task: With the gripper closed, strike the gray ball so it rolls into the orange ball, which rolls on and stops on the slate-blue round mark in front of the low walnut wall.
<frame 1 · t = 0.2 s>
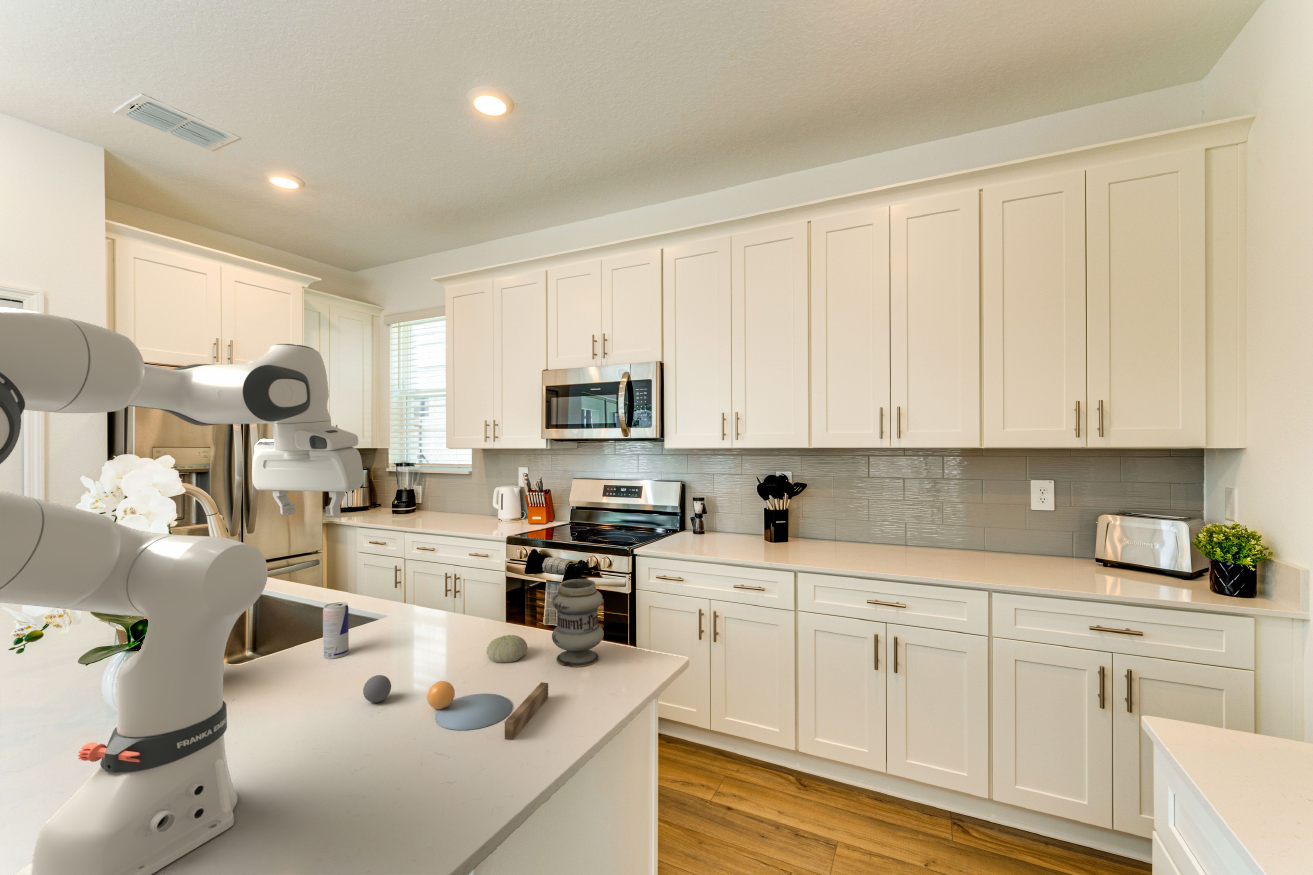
hand: (310, 514, 101), 39 cm above the countertop, tool pointing down, fingers open, 8 cm apart
plant pot: (166, 695, 115), on the countertop
gray ball: (377, 688, 112), on the countertop
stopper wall: (528, 716, 105), on the countertop
energy drink: (335, 655, 136), on the countertop
sea urchin shell: (507, 658, 134), on the countertop
object ball: (441, 694, 109), on the countertop
apothecary jar: (577, 659, 133), on the countertop
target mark: (474, 711, 108), on the countertop
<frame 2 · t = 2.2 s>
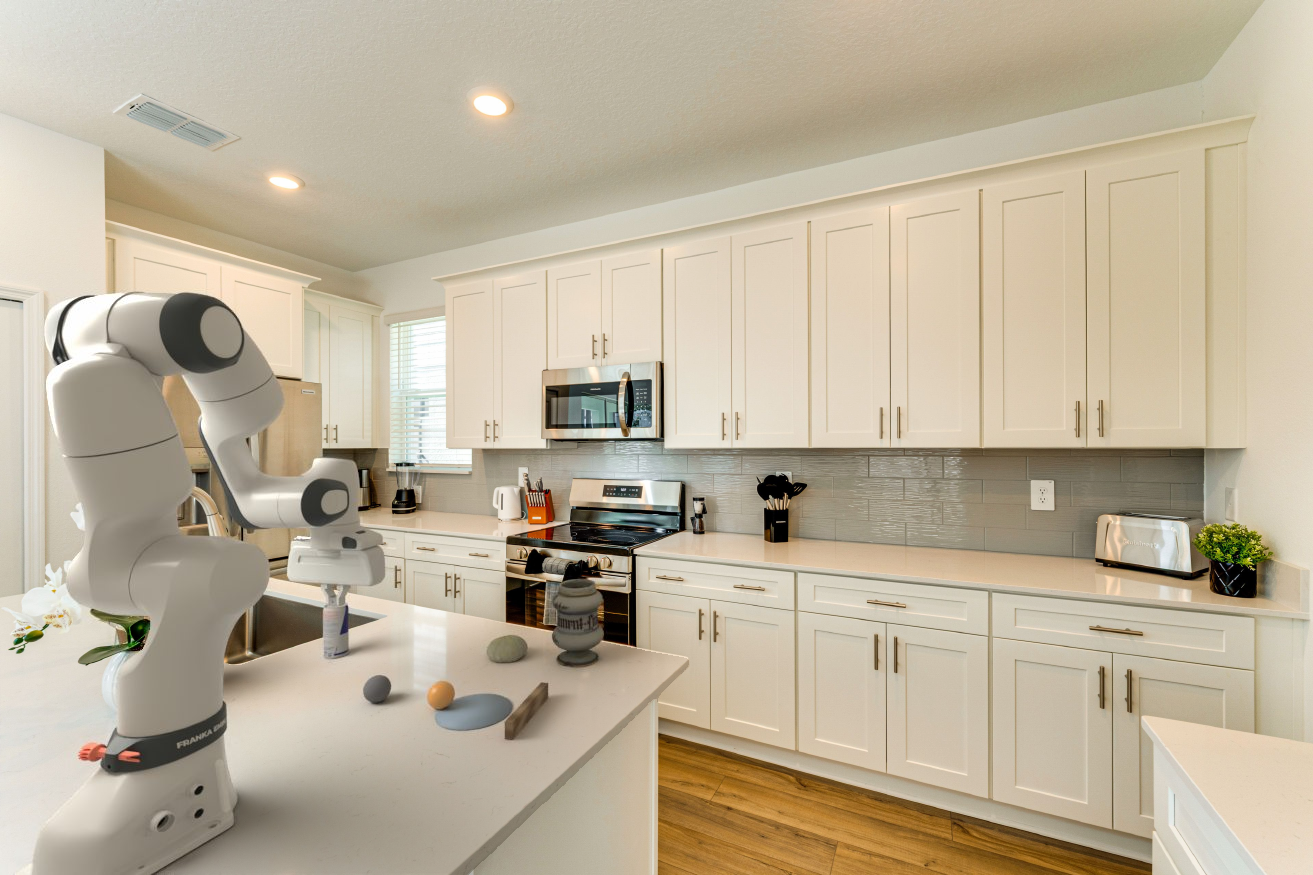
hand: (335, 605, 114), 18 cm above the countertop, tool pointing down, fingers closed
nothing on the countertop moved.
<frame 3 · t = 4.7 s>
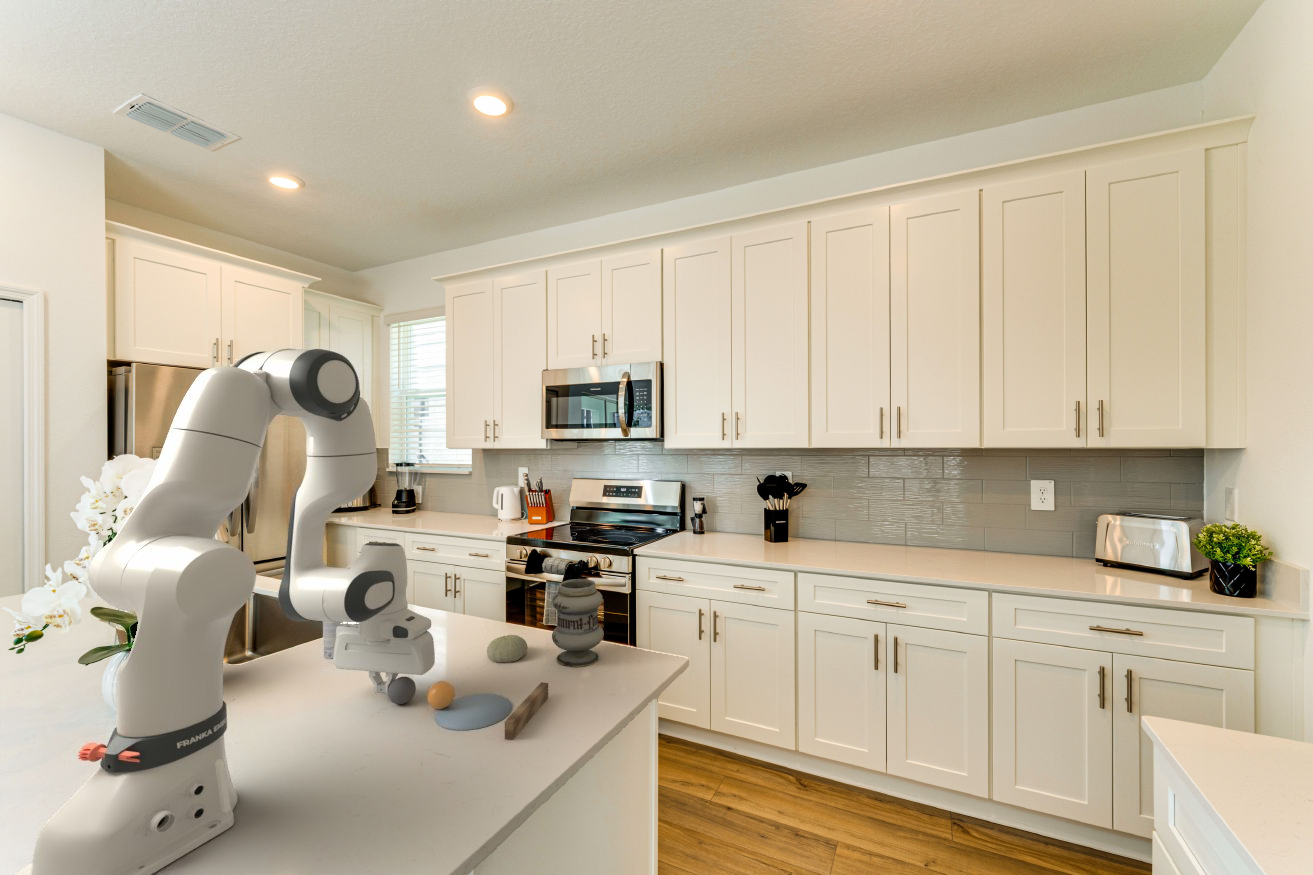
hand: (383, 692, 112), 2 cm above the countertop, tool pointing down, fingers closed
gray ball: (402, 690, 111), on the countertop
everything else where it was.
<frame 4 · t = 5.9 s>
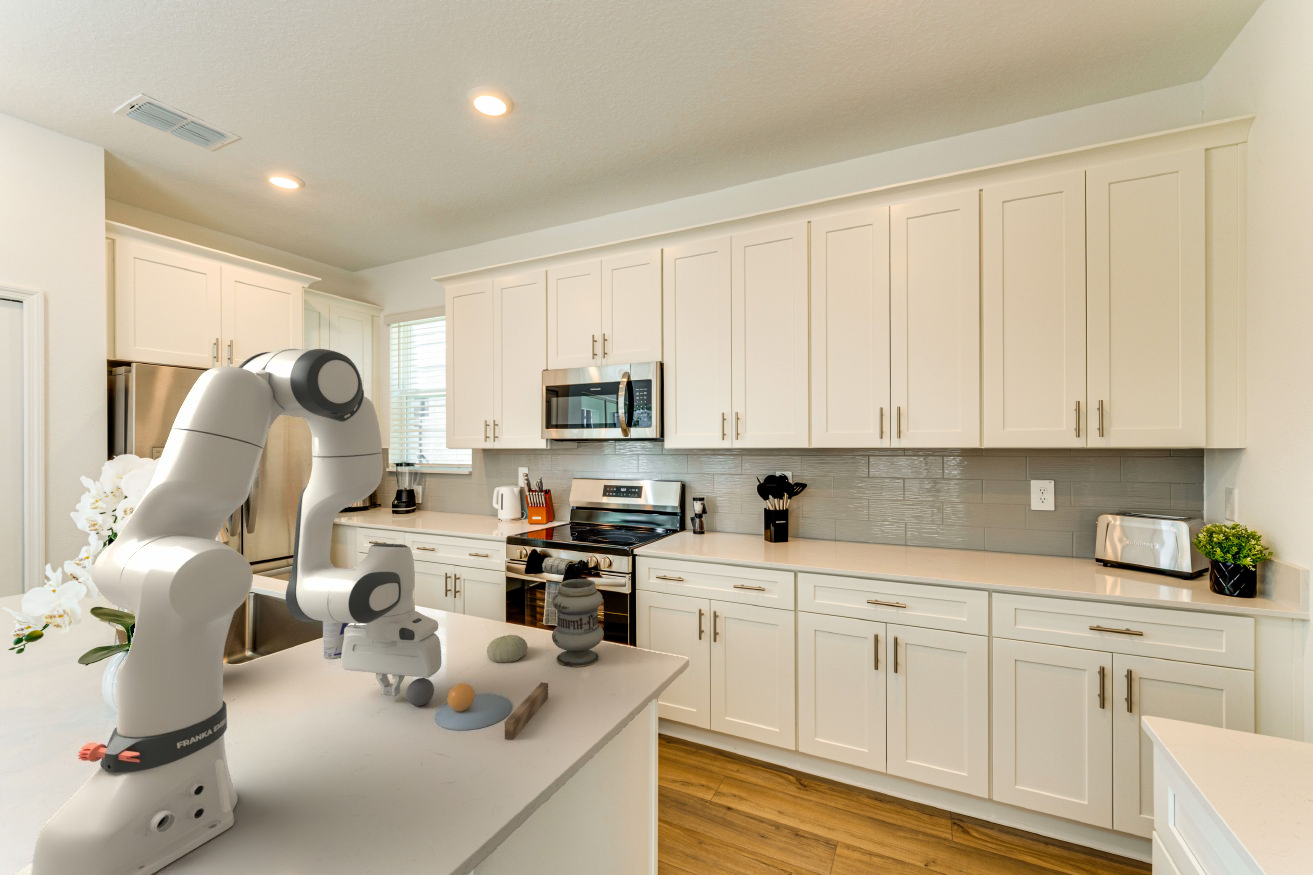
hand: (390, 694, 111), 2 cm above the countertop, tool pointing down, fingers closed
gray ball: (420, 691, 110), on the countertop
object ball: (461, 697, 108), on the countertop
everything else where it was.
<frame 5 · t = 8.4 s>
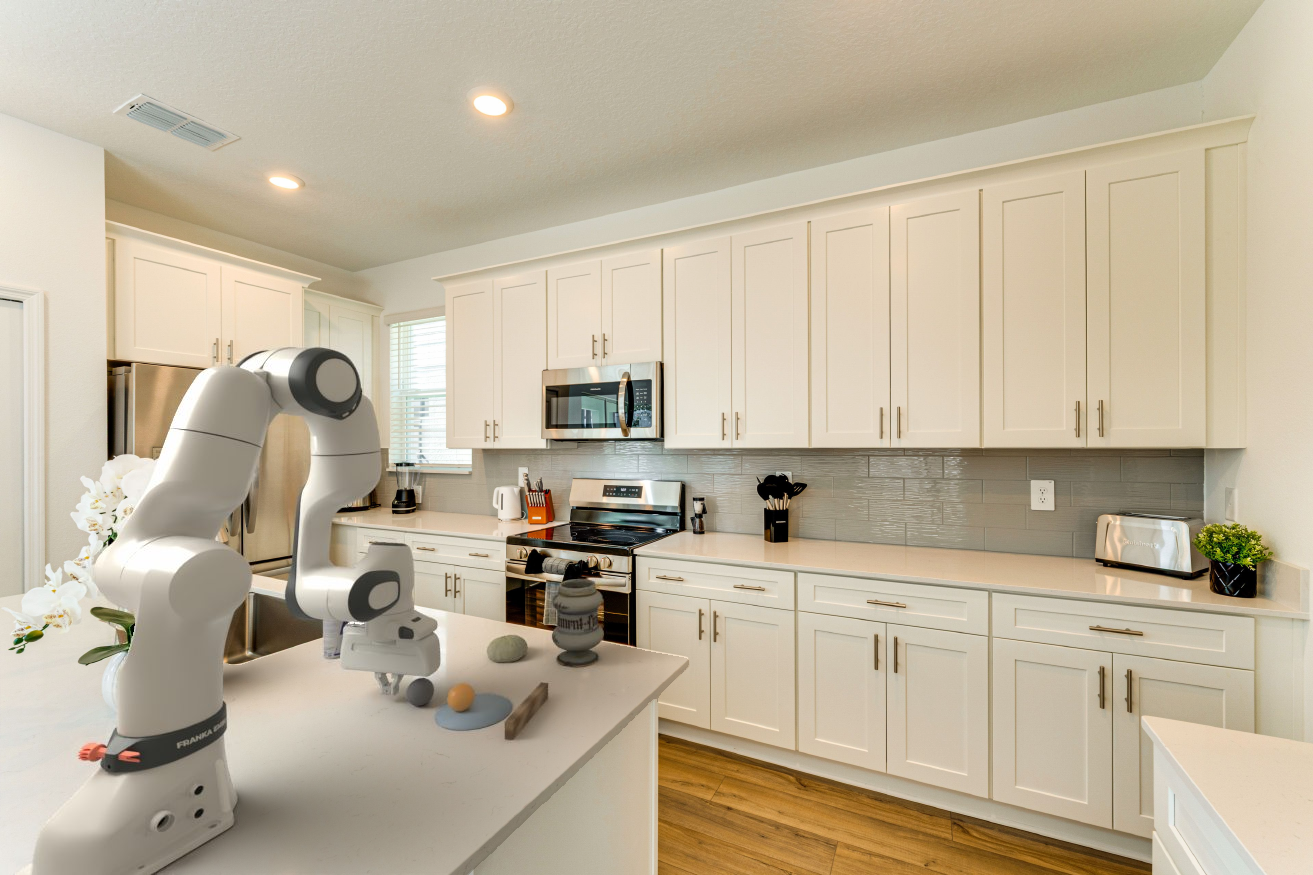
hand: (389, 693, 111), 2 cm above the countertop, tool pointing down, fingers closed
nothing on the countertop moved.
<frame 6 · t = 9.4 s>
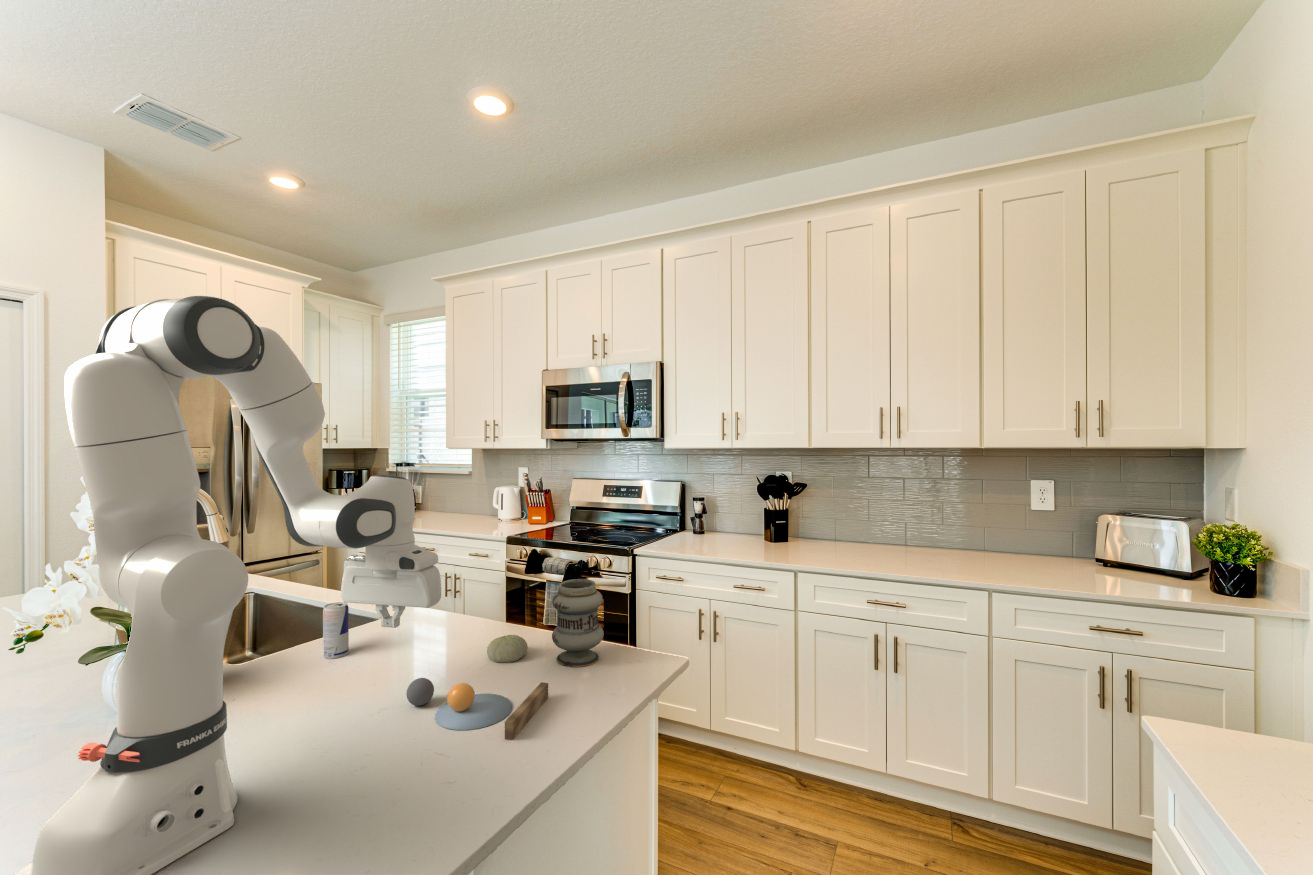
hand: (390, 626, 111), 15 cm above the countertop, tool pointing down, fingers closed
nothing on the countertop moved.
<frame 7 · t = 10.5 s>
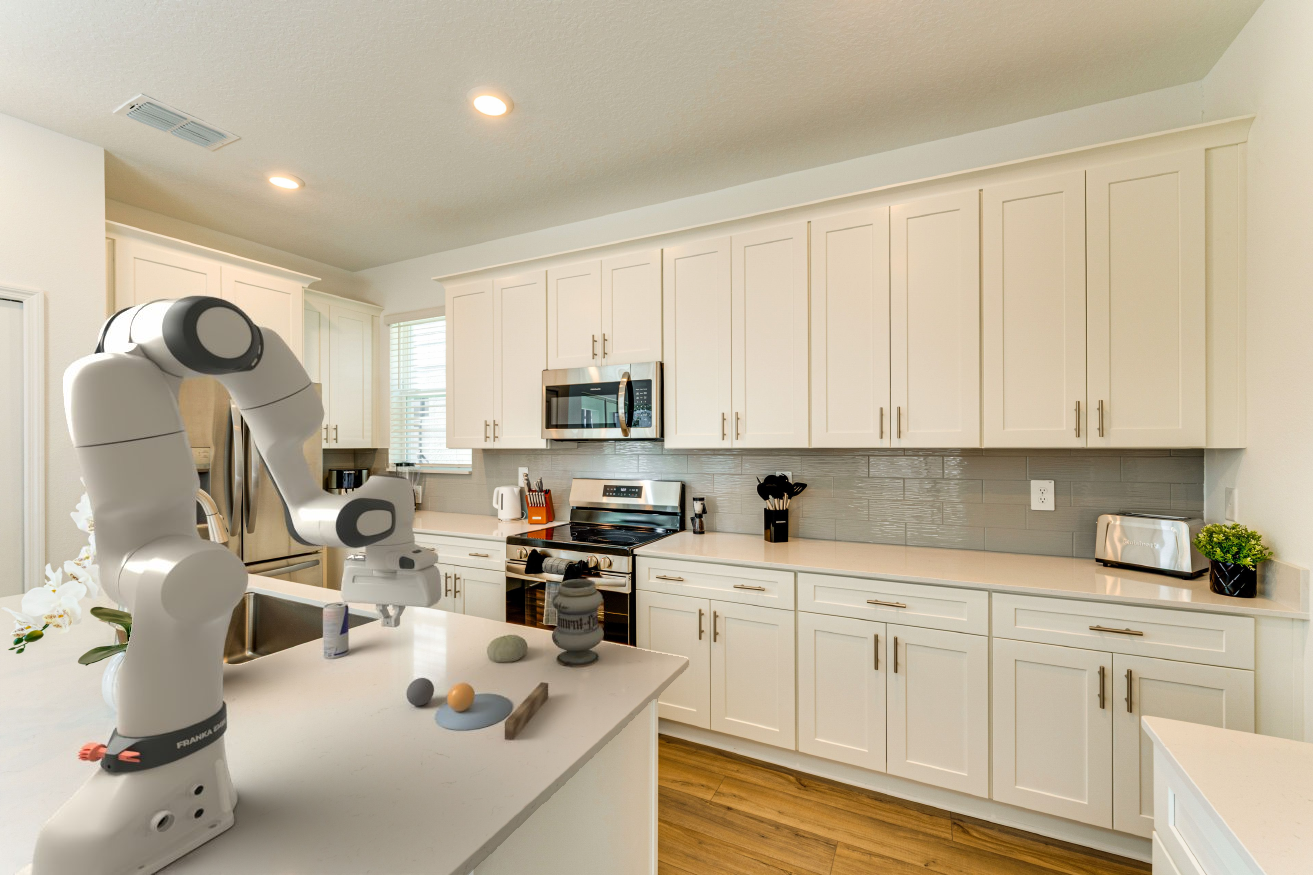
hand: (390, 626, 111), 15 cm above the countertop, tool pointing down, fingers closed
nothing on the countertop moved.
at the end: object ball 2.7 cm from the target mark (horizontally); object ball never touched the robot; gray ball first touched object ball at 4.9 s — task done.
